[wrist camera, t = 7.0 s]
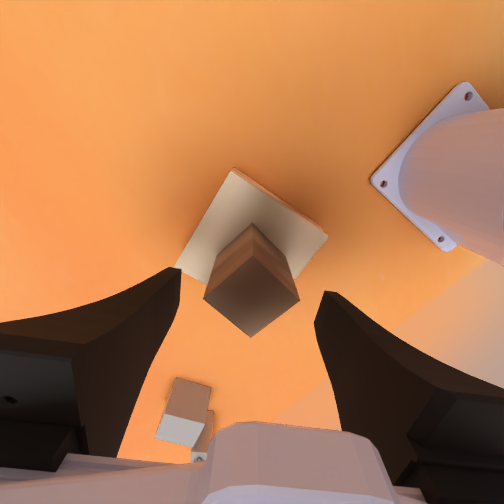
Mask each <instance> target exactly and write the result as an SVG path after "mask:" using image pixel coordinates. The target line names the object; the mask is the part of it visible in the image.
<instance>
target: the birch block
mask: <svg viewBox="0 0 504 504" xmlns="http://www.w3.org/2000/svg"><path fill="white" fill-rule="evenodd" d="M251 223H253V224H254V225H255V226H256V227H257V228H258V229H259V230H260V231H261V232H262V233H263V234H264V235H265V236H266V237H267V238H268V239H269V240H270V241H271V242H272V243H273V244H274V245H275V246H276V247H277V248H278V249H279V250H280V251H281V252H282V253H283V254H284V255H285V256H286V259H287V262H288V265H289V268H290V271H291V274H292V277H293V280H294V279H295V278H296V277H297V276H298V274H299V273H300V272H301V271H302V270H303V268H304V267H305V266H306V265H307V264H308V262H309V261H310V260H311V259H312V257H313V256H314V255H315V254H316V253H317V251H318V250H319V249H320V248H321V247H322V245H323V244H324V243H325V242H326V240H327V239H328V238H329V236H328V235H327V234H326V233H325V232H324V230H323V229H322V228H321V227H320V226H319V225H318V224H317V223H316V222H314V221H313V220H311V219H310V218H308V217H307V216H305V215H304V214H302V213H301V212H299V211H298V210H296V209H295V208H293V207H292V206H290V205H289V204H287V203H286V202H285V201H283V200H282V199H280V198H279V197H277V196H276V195H274V194H273V193H271V192H270V191H268V190H267V189H265V188H264V187H262V186H261V185H259V184H258V183H256V182H255V181H254V180H252V179H251V178H249V177H248V176H246V175H245V174H243V173H242V172H240V171H239V170H237V169H236V168H234V167H233V169H232V170H231V171H230V173H229V174H228V176H227V178H226V179H225V181H224V183H223V184H222V186H221V188H220V189H219V191H218V193H217V195H216V196H215V198H214V200H213V201H212V203H211V205H210V206H209V208H208V210H207V211H206V213H205V215H204V217H203V218H202V220H201V222H200V223H199V225H198V227H197V228H196V230H195V232H194V233H193V235H192V237H191V239H190V240H189V242H188V244H187V245H186V247H185V249H184V250H183V252H182V254H181V255H180V257H179V259H178V261H177V262H176V264H175V266H174V268H179V269H182V272H184V273H185V274H187V275H189V276H191V277H193V278H195V279H196V280H198V281H200V282H202V283H204V284H206V285H208V281H209V278H210V275H211V272H212V269H213V265H214V262H215V259H216V256H217V255H218V254H219V253H220V252H221V251H222V250H223V249H224V248H225V247H226V246H227V245H228V244H229V243H231V242H232V241H233V240H234V239H235V238H236V237H237V236H238V235H239V234H240V233H241V232H242V231H244V230H245V229H246V228H247V227H248V226H249V225H250V224H251Z"/></svg>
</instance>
